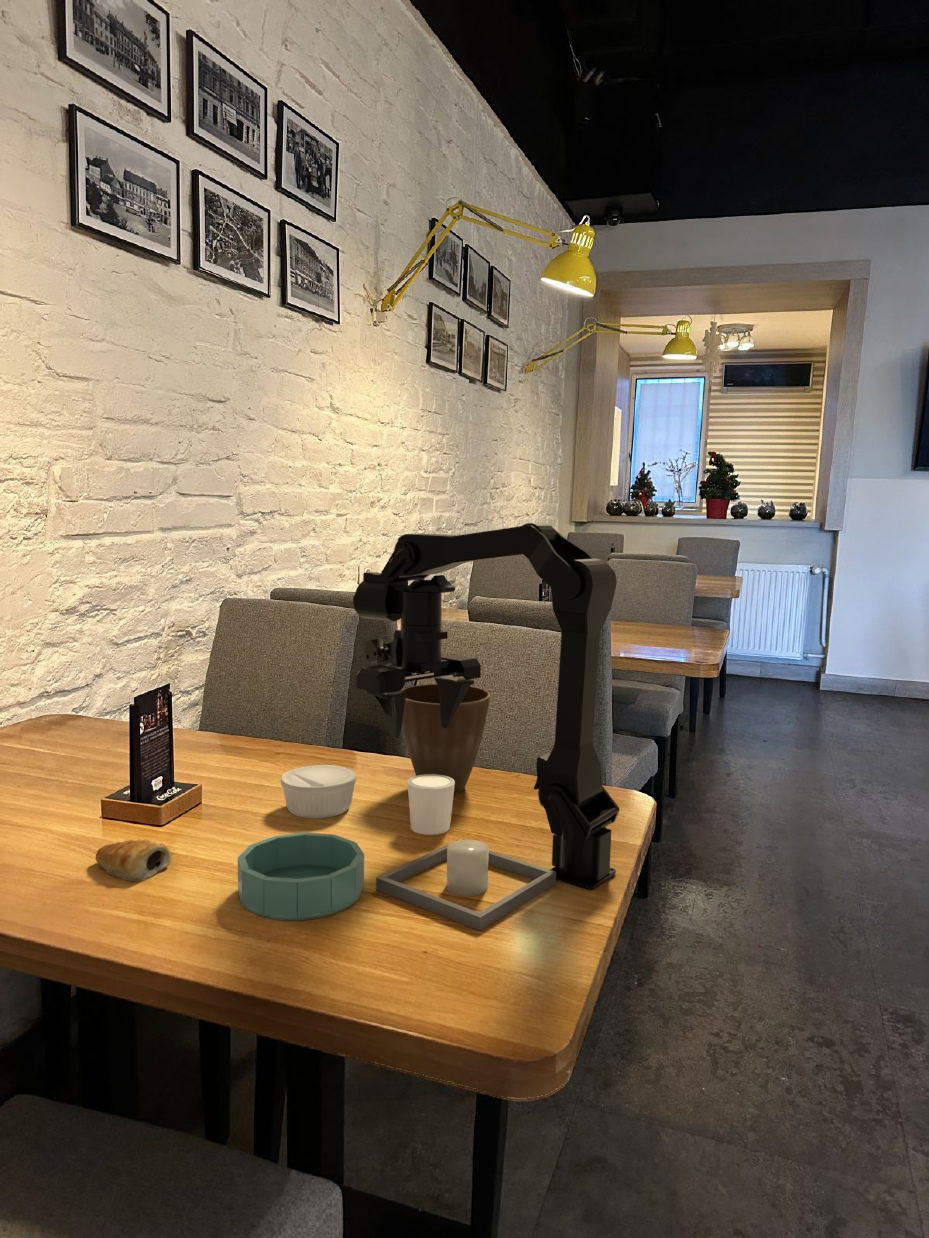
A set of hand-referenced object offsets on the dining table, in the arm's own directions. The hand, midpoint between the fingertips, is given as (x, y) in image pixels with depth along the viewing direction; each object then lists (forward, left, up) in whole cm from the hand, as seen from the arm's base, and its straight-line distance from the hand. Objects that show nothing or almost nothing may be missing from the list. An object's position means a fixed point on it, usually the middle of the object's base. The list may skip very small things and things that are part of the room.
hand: (420, 733), depth 119 cm
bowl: (-3, +25, -14) cm, 29 cm away
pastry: (+18, +34, -15) cm, 41 cm away
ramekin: (+17, +4, -14) cm, 23 cm away
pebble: (-17, +11, -14) cm, 25 cm away
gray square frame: (-17, +11, -14) cm, 24 cm away
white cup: (-1, -1, -14) cm, 14 cm away
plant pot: (+9, -16, -14) cm, 23 cm away
